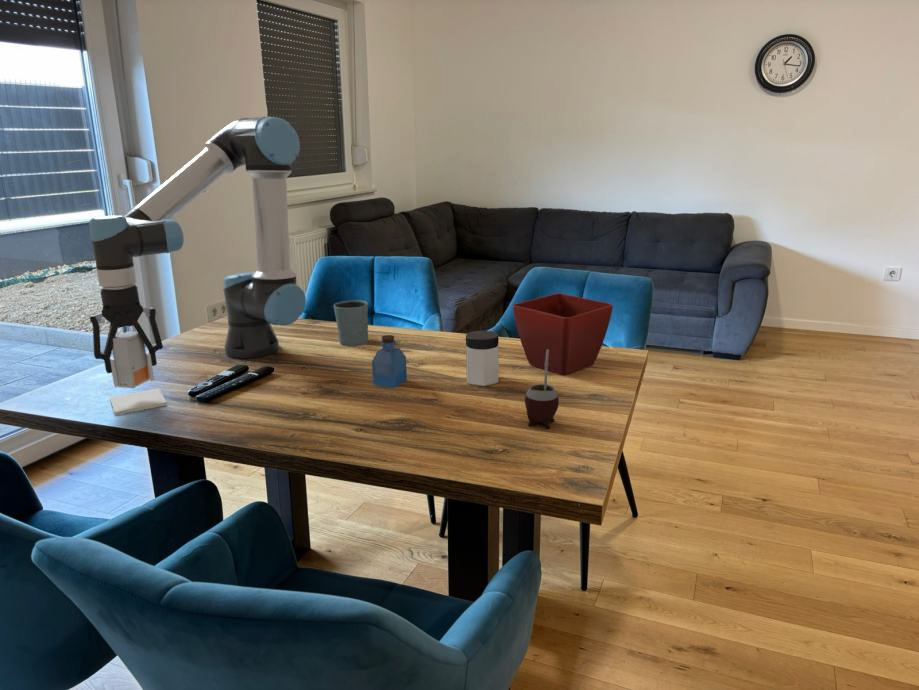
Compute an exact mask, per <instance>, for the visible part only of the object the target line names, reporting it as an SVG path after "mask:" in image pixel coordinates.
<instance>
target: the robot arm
mask: <svg viewBox="0 0 919 690" xmlns="http://www.w3.org/2000/svg"><path fill="white" fill-rule="evenodd" d="M300 148H301V145H300V139H299V136H298V133H297V131H296V130H295V127H293V126H292V125H291V123H290V122H288V121H287V120H286V119H284V118H282V117H276V116H271V115H270V116H269V115H268V116H260V117H243V118H238V119H236V120H234V121H232V122H230V123H229V124H227V125H226V126H225V127H223V128H222V129H221V130H219V131H218V132H217V133H215V134H214V135H213V136H212V137H211V138H209V139H208V140H207V141H206V142H204V144H203V150H202V151H201V152H199V153H198V154H197V155H196V156H195V157H193V158H192V159H191V160H190V161H188V162H187V163H186V164H185V165H184V166H183V167H182V168H180V169H179V170H178V171H176V172H175V173H174V174H173V175H172V176H170V178H169V179H167V180H166V181H165V182H163V183H162V184H161V185H160V186H158V188H156V189H155V190H153V192H151V193H150V194H149V195H148V196H146V197H145V198H144V199H143V200H142V201H140V203H138V204H137V205H136V206H135V207H133V208H132V209H130V211H128V212H126V214H124V215H101V216H94V217H92V218H91V219H90V220H89V234H90V235H89V236H90V241H91V246H92V251H93V256H94V261H95V268H96V275H97V280H98V285H99V287H101V289H99V291H100V297H101V301H102V302H101V303H102V310H101V312H99V313H95V314H93V313H92V314H90V315H89V317H88V318H89V320H90V323H91V325H92V340H93V341H92V343H93V345H92V346H93V356H94V359H96V360H102V361H103V362H104V367H105V372H106V373H107V374H111V375H112V381H113V386H114V388H120V387H119V386H118V380H117V374H116V369H115V363H114V356H111V355H112V353H113V350H112V348H113V344H114V343H113V338H115V336H117V332H118V329H120V328H124V327H134V329H135V331H136V332H138V334H139V335H140V337H141V338H142V340H143V342H144V344H145V348H147V350H146V358H147V365H148V372H149V379H150V380H149V381H150V382H152V381H155V376H154V369H153V367H155V366H157V365H158V364H157V355H156V353H157V351H159V350H163V348H164V346H163V342H162V339H161V335H160V331H159V328H158V324H157V320H156V313H157V310H156V309H155V308H154V306H150V307H143V305H141V303H140V297H139V291H138V286H137V285H136V283H137V276H136V271H135V265H134V258H138V257H143V256H151V255H152V256H153V255H161V254H170V253H173V252H178V251H180V250H181V249H182V248H183V245H184V241H185V239H184V232H183V229H182V227H181V226H180V224H179V223H178V222H177V221H176V220H174V219H173V218H174V217H176V216H177V214H179V213H180V212H181V211H182V210H183V209H184V210H185V208H186V207H187V206H189V204H190V203H192V202H193V201H194V200H195V199H196V198H197V197H200V195H201V194H203V193H204V192H205V191H206V190H207V189H208V188H210V186H211V185H213V184H214V183H215V182H216V181H217V180H219V178H221V177H222V176H223V175H224V174H232V173H233V172H235V170H236V169H238V168H240V167H243V166H245V172H246V173H247V174H248V175H249V176H250V177H251V179H252V196H253V211H254V232H255V247H256V248H255V250H256V267H257V269H256V270H254V271H246V272H240V273H235V274H234V273H233V274H230V275H226V276H225V277H224V278H223V292H224V300H225V301H224V302H225V308H226V316H227V324H228V325H227V326H228V329H227V334H226V339H225V344H224V351H225V355H227V356H228V357H231V358H235V359H250V358H251V359H253V358H259V357H265V356H268V355H271V354H273V353H276V352H277V351H278V350H279V349H280V345H279V344H280V343H279V340H278V337H277V335H276V333H275V331H274V329H273V326H272V325H274V326H288V325H292V324H293V323H295V322H296V321H297V320H299V318H300V317H301V316H302V314H304V313H303V312H304V311H305V308H306V300H307V299H306V294H305V292H304V291H303V289H302V288H301V287H300V286H299V285H298V284H297V273H295V272H294V271H293V270H292V268H291V260H290V259H291V258H290V257H291V255H290V239H289V238H290V236H289V235H290V234H289V214H288V213H289V210H288V190H287V189H288V188H287V178H288V177H289V176H290V175H291V173H292V171H293V170H292V169H293V167H292V164H293V162H295V161H296V159H297V157H298V156H299V154H300ZM142 313H144V315H145V317H147V318H148V322H149V326H150V329H151V333H152V337H153V339H154V344H152V343H151V341H150V339H149V338H148V336H147V335H146V333H145V331H144V329H143V328H142V326H141V325H140V323H139V322H138V321H139V319H140V317H141V316H142ZM103 318H104V319H105V320H106V321H107V322H109V331H108V332H107V333H108V334H107V337H106V343H105V347H104V351H103V352H101V332H100V331H101V330H100V324H101V323H102V319H103Z"/></svg>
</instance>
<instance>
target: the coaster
mask: <svg viewBox="0 0 919 690" xmlns="http://www.w3.org/2000/svg"><path fill="white" fill-rule="evenodd" d="M109 401H110V404H111V408H112V407H113V408H112V411H113V413H114V416H119V415H118V414H120V415H123V414H122V413H125V414H129V412H130V413H135V412H139V410H140V411H144V409H145V410H150V409H154V408H159V407H164V406H167V405H168V404H167V400H166V399H165V397H164V395H163V393H162V391H161V389H160V388H152V389H147V390H142V391H135V392H130V393H125V394H120V395H115V396H110V397H109ZM134 411H135V412H134Z"/></svg>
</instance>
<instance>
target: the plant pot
mask: <svg viewBox="0 0 919 690" xmlns="http://www.w3.org/2000/svg"><path fill="white" fill-rule="evenodd" d="M512 308H513V309H512V310H513V314H514V316H513V317H514V321H515V325H516V329H517V333H518V336H519V340H520V342H521V346H522V348H523V351H524V354H525V357H526V360H527V362H528V363H529V365H530V366H533V367H536V368H539V369H542V370H545V367H544V366H545V360H546V351H547V349H549V356H548V370H547V372H552V373H555V374H558V375H562V376H566V375H569V374H571V373H572V374H573V373H574V372H577V371H581V370H582V369H586V368H588V367H590V366H594V364H595V362H596V360H597V357H598V356H599V353H600V351H601V348H602V347H603V344H604V340H605V337H606V335H607V332H608V328H609V325H610V321H611V318H612V312H613V308H614V304H613V303H609V302H604V301H599V300H595V299H589V298H585V297H581V296H576V295H571V294H568V293H567V294H566V293H561V292H560V293H559V292H558V293H554V294H549V295H545V296H541V297H537V298H533V299H529V300H525V301H522V302H517V303H513V305H512Z"/></svg>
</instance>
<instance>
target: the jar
mask: <svg viewBox="0 0 919 690" xmlns="http://www.w3.org/2000/svg"><path fill="white" fill-rule="evenodd" d="M499 343H500V342H499V334H498V333H497V332H495V331H491V330H474V331H471V332H467V333H466V335H465V357H466V358H465V359H466V360H465V363H466V365H465V366H466V369H465V370H466V383H467V384H468V385H472V386H473V385H474V386H479V387H486V386H490V385H495V384H498V383H499V375H500V371H499V367H500V366H499V365H500V364H499V363H500V357H499V353H500V352H499Z"/></svg>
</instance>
